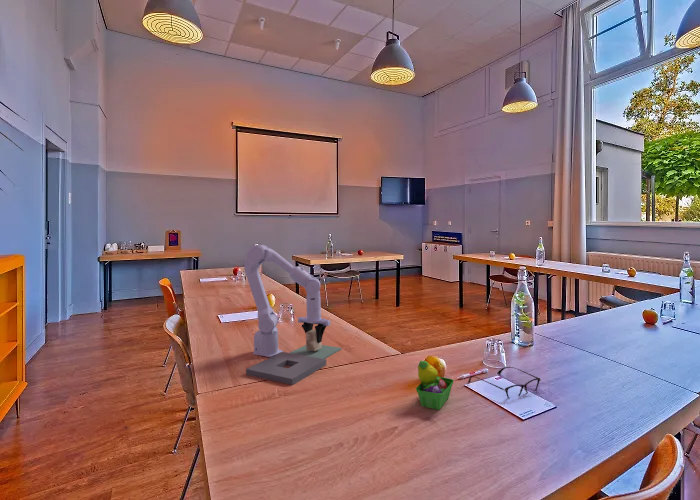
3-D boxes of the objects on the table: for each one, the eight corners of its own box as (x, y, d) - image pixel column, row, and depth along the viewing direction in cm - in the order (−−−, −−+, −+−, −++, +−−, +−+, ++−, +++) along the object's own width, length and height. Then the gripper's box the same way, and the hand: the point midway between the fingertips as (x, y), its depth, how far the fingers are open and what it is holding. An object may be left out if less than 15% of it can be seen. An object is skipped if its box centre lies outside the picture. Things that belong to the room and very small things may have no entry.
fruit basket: (442, 413, 98) (441, 371, 97) (410, 405, 103) (410, 365, 102) (454, 396, 108) (454, 358, 107) (425, 390, 112) (425, 353, 112)
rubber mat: (286, 355, 147) (286, 353, 147) (310, 344, 161) (310, 342, 161) (320, 361, 139) (320, 359, 139) (341, 349, 153) (341, 347, 153)
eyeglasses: (505, 402, 104) (505, 388, 104) (464, 383, 118) (464, 370, 118) (543, 390, 112) (543, 377, 111) (500, 373, 126) (500, 361, 125)
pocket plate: (246, 374, 128) (246, 368, 128) (283, 356, 145) (283, 351, 145) (292, 385, 118) (292, 378, 118) (326, 364, 136) (326, 359, 136)
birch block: (306, 349, 148) (305, 332, 148) (313, 346, 153) (313, 329, 152) (314, 351, 147) (314, 333, 146) (321, 347, 151) (321, 330, 151)
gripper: (293, 308, 149) (294, 342, 150) (323, 311, 142) (324, 346, 143) (303, 305, 155) (304, 337, 156) (333, 308, 148) (333, 341, 149)
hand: (314, 341), depth 150 cm, fingers closed on birch block, 4 cm apart
